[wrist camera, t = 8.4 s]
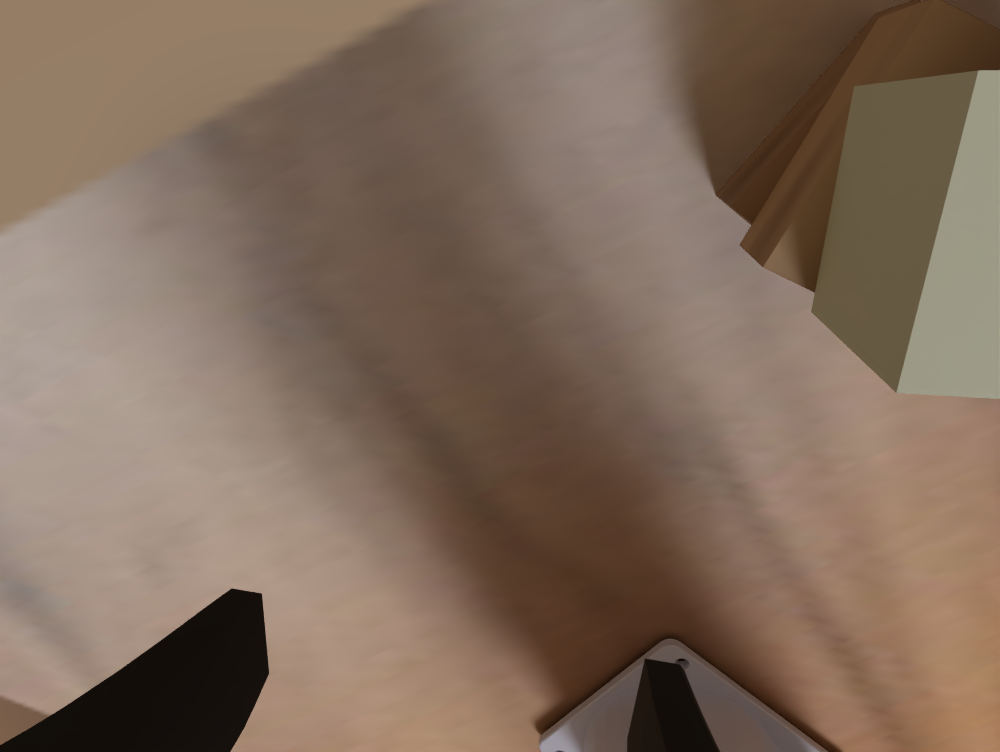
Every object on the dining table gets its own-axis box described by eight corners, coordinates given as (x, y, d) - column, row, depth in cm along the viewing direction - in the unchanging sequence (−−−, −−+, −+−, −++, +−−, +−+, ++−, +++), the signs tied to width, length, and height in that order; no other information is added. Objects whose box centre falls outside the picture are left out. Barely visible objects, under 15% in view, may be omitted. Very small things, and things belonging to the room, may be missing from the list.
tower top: (1098, 128, 14) (1199, 130, 12) (931, 339, 16) (986, 376, 14) (878, 17, 14) (935, -3, 12) (739, 244, 16) (762, 267, 14)
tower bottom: (1022, 155, 17) (1092, 161, 14) (854, 312, 19) (890, 339, 16) (870, 16, 16) (917, -2, 14) (713, 194, 18) (730, 205, 16)
